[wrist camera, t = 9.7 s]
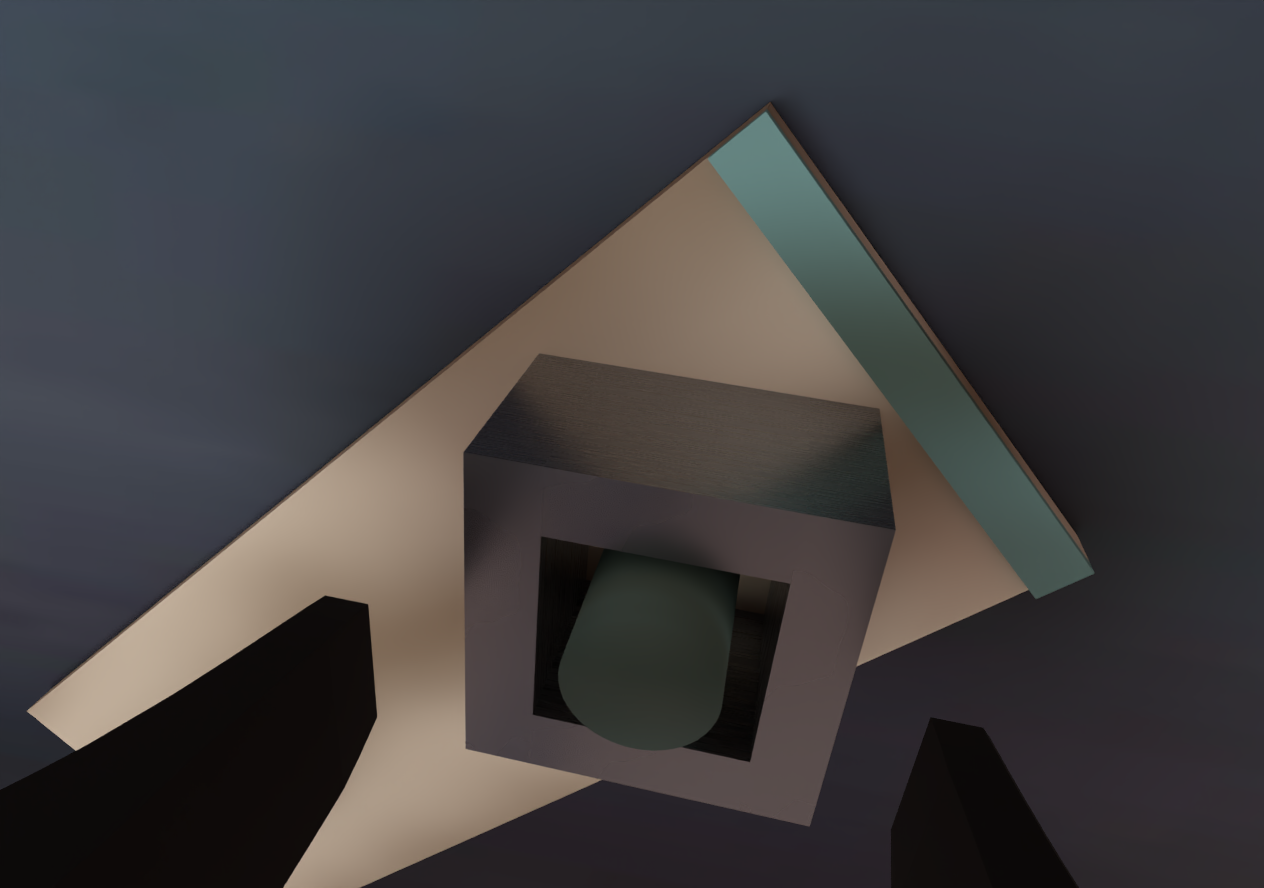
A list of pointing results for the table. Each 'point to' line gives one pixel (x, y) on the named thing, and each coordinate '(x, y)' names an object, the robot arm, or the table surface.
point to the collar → (681, 532)
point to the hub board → (620, 582)
